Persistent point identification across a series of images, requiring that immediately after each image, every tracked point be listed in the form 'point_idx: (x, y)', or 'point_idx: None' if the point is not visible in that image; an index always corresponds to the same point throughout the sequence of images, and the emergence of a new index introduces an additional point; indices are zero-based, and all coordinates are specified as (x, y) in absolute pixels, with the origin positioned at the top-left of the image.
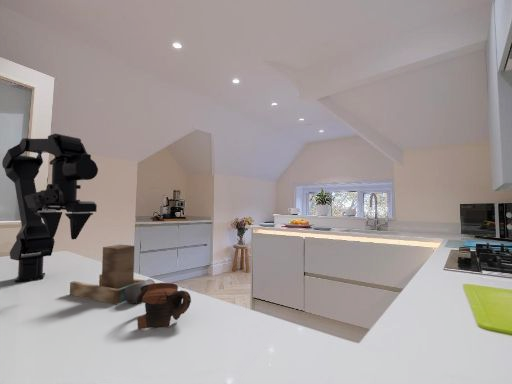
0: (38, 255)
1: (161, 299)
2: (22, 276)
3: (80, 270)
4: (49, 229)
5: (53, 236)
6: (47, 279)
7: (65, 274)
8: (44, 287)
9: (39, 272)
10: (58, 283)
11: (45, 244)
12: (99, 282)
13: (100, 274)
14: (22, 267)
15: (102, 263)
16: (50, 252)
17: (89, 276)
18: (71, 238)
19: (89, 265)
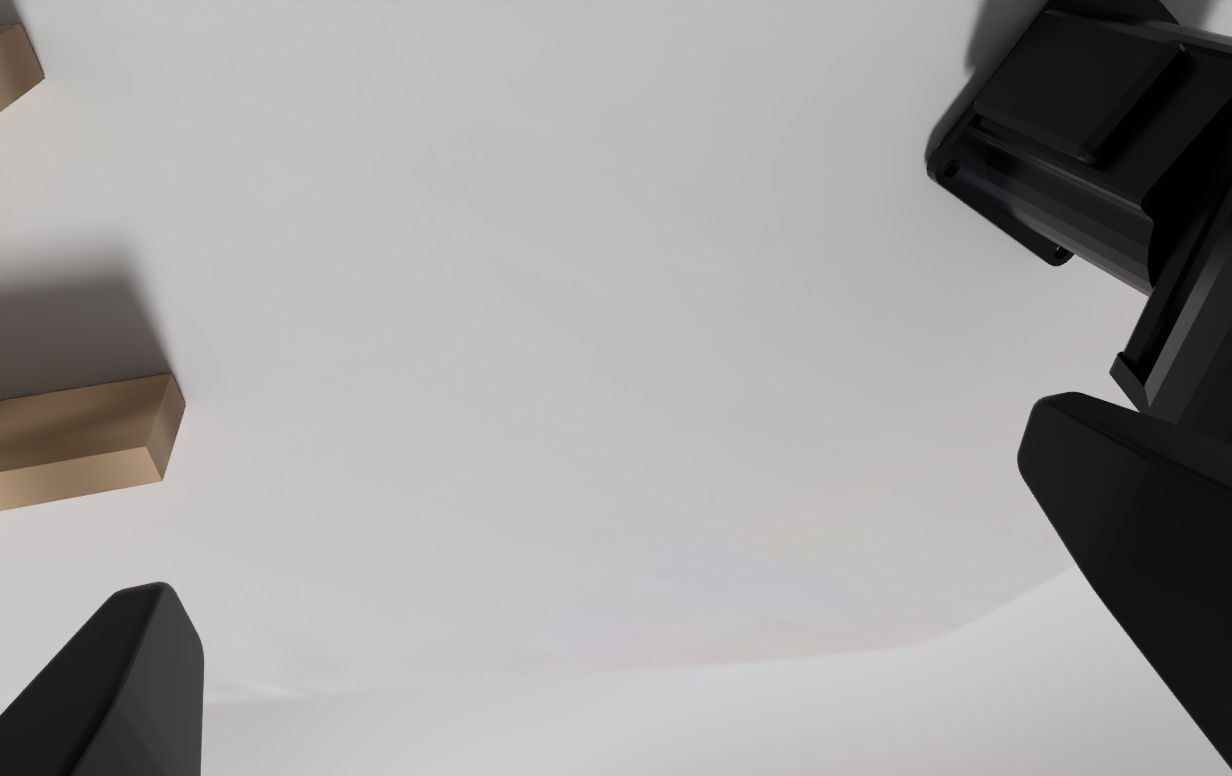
0: (1193, 252)
1: None
2: (1074, 14)
3: (874, 484)
4: (1226, 514)
5: (1028, 464)
6: (880, 195)
7: (879, 364)
8: (617, 24)
9: (1016, 183)
10: (639, 186)
11: (1222, 367)
12: (159, 393)
13: (144, 455)
14: (1172, 39)
15: None
16: (1136, 383)
17: (616, 453)
18: (141, 591)
19: (941, 576)
